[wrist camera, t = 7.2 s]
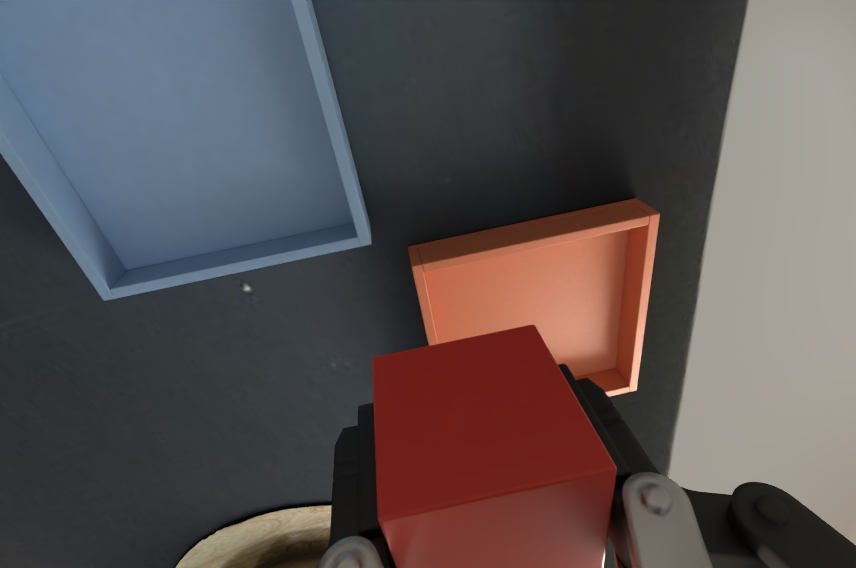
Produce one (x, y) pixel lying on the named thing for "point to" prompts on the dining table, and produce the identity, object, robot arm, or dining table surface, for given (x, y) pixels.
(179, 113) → the blue tray
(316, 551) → the pie
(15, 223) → the dining table surface
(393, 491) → the red block
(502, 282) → the orange tray
